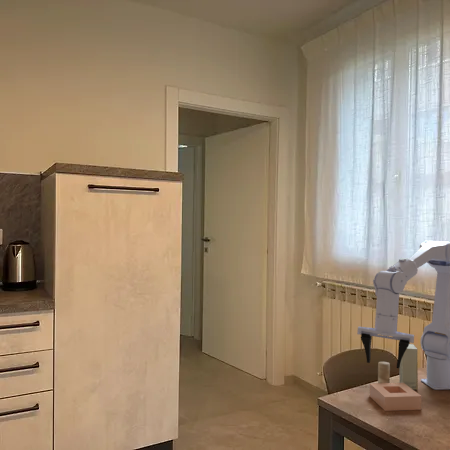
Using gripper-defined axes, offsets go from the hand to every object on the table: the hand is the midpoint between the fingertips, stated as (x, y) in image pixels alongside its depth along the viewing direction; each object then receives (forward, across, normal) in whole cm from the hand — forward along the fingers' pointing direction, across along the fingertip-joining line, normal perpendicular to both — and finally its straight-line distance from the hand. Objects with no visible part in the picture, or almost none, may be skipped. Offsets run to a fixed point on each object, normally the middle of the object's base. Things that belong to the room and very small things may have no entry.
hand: (383, 364), depth 122 cm
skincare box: (+9, +6, +18) cm, 21 cm away
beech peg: (+10, 0, +11) cm, 15 cm away
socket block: (+10, +3, +3) cm, 11 cm away
